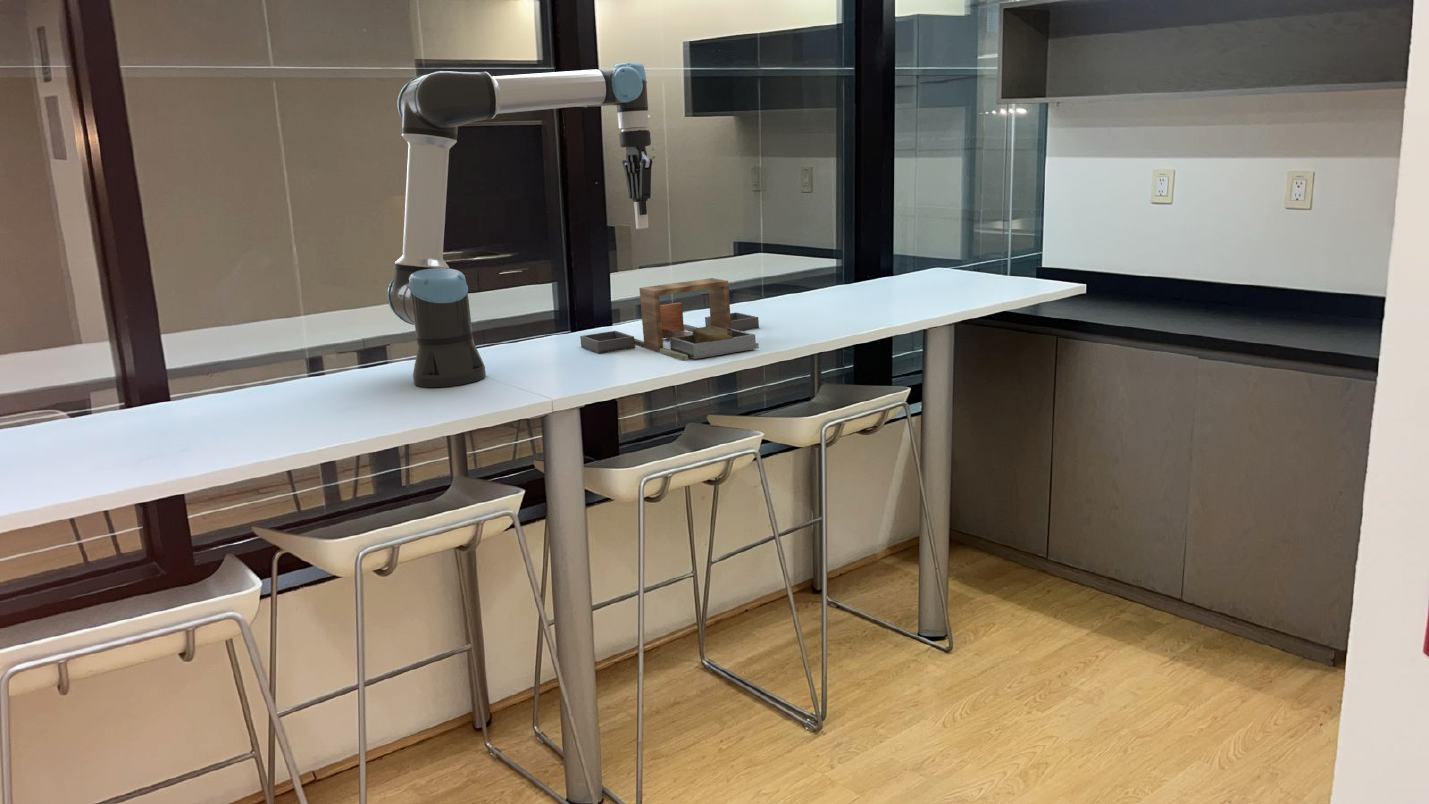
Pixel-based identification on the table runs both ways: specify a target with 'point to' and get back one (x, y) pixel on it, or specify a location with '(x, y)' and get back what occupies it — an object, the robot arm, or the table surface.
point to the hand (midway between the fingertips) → (642, 228)
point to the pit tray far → (739, 321)
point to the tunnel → (654, 328)
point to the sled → (685, 344)
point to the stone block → (710, 334)
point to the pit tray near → (607, 342)
